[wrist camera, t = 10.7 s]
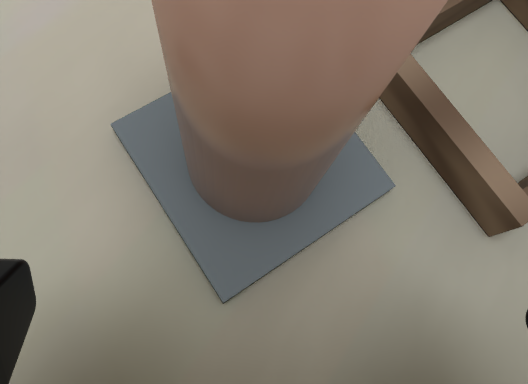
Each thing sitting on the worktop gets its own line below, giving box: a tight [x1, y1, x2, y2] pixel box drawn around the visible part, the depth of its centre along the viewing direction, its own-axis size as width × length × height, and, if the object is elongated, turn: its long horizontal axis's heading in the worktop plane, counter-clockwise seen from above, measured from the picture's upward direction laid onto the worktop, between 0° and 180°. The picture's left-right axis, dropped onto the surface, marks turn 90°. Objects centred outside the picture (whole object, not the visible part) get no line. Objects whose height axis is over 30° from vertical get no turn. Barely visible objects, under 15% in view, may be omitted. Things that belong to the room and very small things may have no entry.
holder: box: [379, 0, 528, 237], centre depth 19 cm, size 10×10×2 cm
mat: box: [111, 92, 396, 303], centre depth 17 cm, size 8×8×1 cm
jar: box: [152, 0, 448, 223], centre depth 10 cm, size 5×5×14 cm
